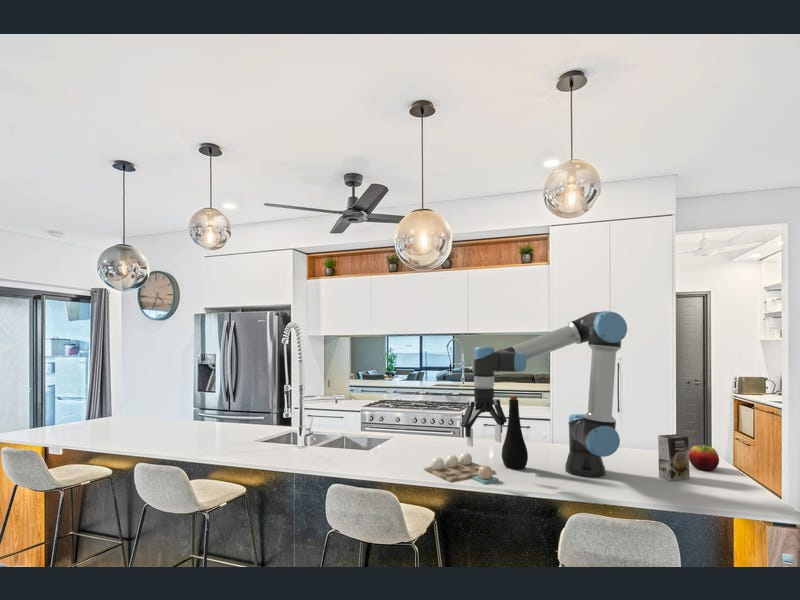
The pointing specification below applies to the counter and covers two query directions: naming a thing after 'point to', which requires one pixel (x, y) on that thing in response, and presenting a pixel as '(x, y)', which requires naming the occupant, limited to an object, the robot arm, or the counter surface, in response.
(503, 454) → the bottle
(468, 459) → the cream egg
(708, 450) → the fruit
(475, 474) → the carton
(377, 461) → the counter surface
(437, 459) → the cream egg
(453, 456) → the cream egg
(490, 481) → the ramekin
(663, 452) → the coffee box
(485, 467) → the brown egg
